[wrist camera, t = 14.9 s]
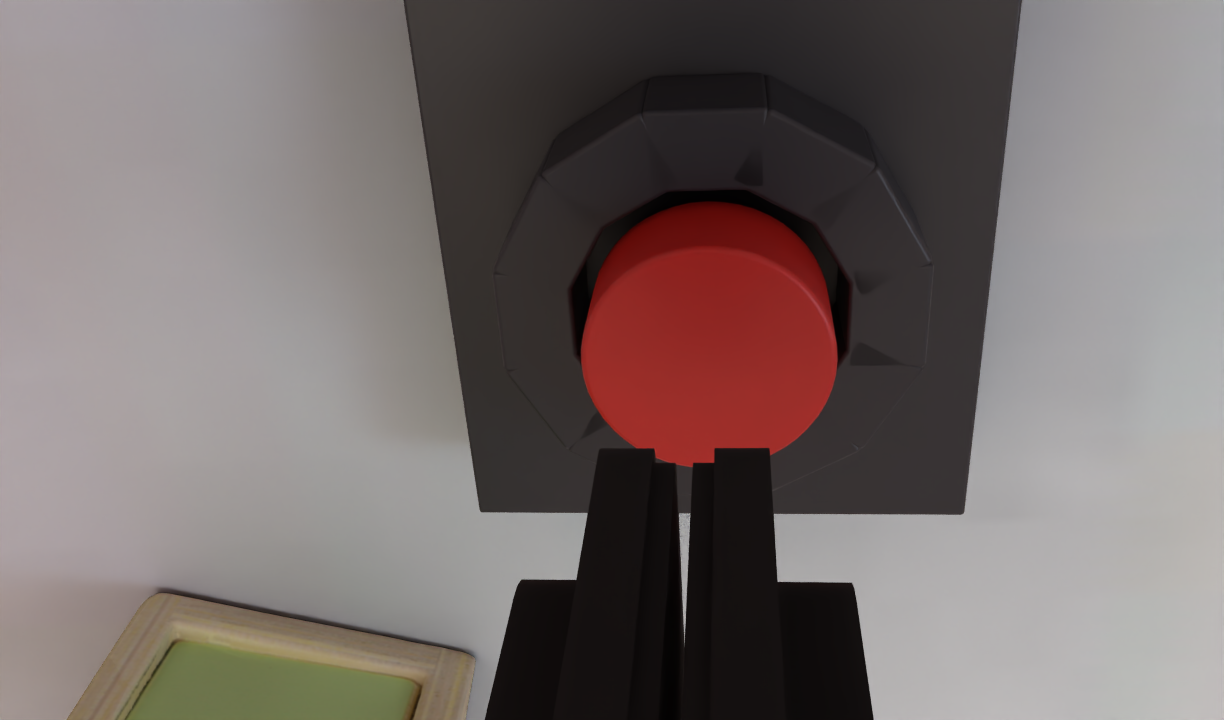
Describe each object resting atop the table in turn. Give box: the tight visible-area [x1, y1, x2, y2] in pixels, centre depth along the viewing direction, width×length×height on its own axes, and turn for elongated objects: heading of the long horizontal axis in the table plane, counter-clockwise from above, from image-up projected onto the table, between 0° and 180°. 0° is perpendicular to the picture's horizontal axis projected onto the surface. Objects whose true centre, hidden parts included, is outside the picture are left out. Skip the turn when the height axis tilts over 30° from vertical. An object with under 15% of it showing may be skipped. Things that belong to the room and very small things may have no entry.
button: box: [581, 201, 838, 467], centre depth 16 cm, size 4×4×2 cm
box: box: [404, 0, 1022, 515], centre depth 19 cm, size 10×9×4 cm
